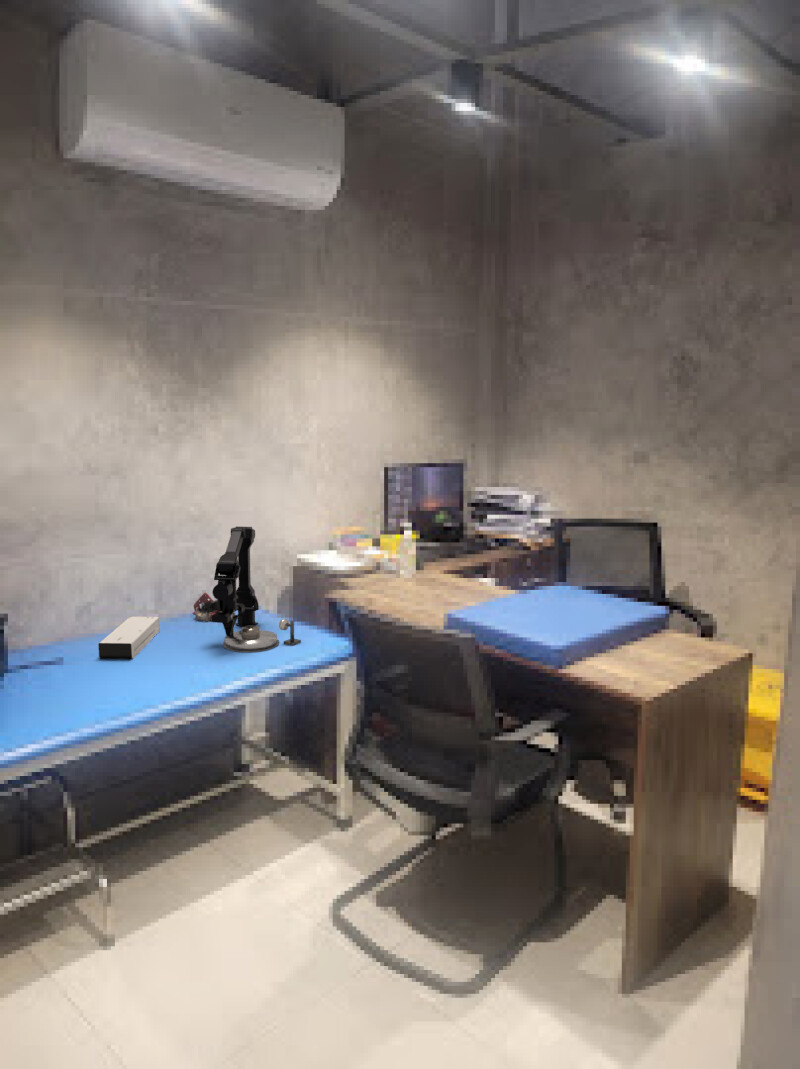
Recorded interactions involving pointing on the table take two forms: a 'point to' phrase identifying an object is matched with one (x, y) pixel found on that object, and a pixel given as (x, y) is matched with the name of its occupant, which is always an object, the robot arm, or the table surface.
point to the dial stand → (284, 626)
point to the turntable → (251, 641)
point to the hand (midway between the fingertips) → (228, 635)
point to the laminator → (129, 638)
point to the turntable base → (251, 650)
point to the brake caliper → (202, 608)
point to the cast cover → (250, 632)
